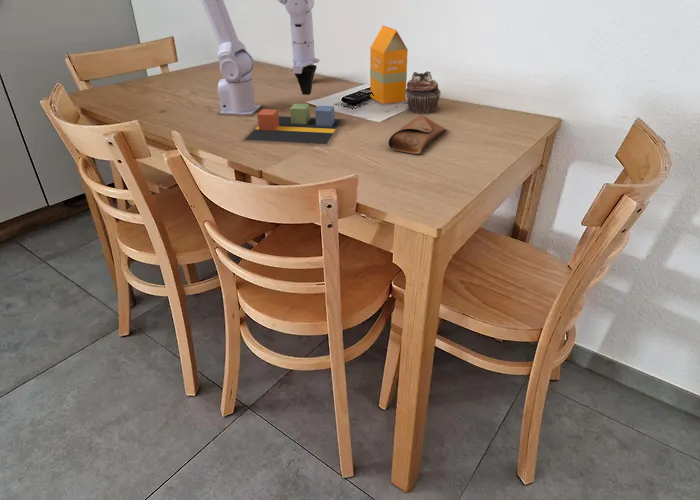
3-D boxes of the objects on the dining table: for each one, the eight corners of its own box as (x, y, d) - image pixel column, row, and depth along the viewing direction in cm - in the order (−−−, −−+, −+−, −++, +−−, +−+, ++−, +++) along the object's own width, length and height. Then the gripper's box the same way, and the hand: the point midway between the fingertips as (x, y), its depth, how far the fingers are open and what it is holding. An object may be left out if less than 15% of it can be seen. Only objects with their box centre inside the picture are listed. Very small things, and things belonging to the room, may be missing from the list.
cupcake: (411, 115, 135) (413, 78, 130) (401, 105, 143) (402, 69, 138) (444, 112, 137) (447, 75, 131) (432, 102, 145) (435, 67, 139)
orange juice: (382, 104, 144) (383, 31, 133) (369, 97, 151) (369, 26, 139) (406, 101, 146) (409, 28, 135) (392, 93, 153) (394, 23, 142)
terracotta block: (259, 130, 128) (257, 114, 125) (264, 124, 131) (262, 109, 129) (274, 130, 127) (272, 115, 125) (279, 125, 130) (277, 109, 128)
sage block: (291, 123, 131) (289, 108, 129) (295, 118, 134) (294, 103, 132) (306, 124, 130) (305, 109, 128) (310, 119, 134) (309, 104, 131)
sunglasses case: (421, 153, 112) (409, 127, 110) (397, 163, 116) (384, 138, 115) (448, 128, 125) (437, 104, 123) (425, 138, 129) (414, 115, 128)
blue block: (315, 126, 129) (314, 110, 127) (319, 120, 133) (318, 105, 130) (331, 126, 128) (330, 111, 126) (334, 121, 132) (334, 105, 130)
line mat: (244, 140, 122) (244, 139, 122) (268, 117, 137) (267, 115, 137) (326, 145, 119) (326, 144, 119) (341, 120, 133) (341, 119, 133)
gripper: (310, 47, 121) (314, 102, 129) (324, 36, 133) (326, 87, 140) (283, 47, 122) (288, 101, 130) (299, 35, 134) (303, 86, 142)
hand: (306, 94), depth 135 cm, fingers closed
